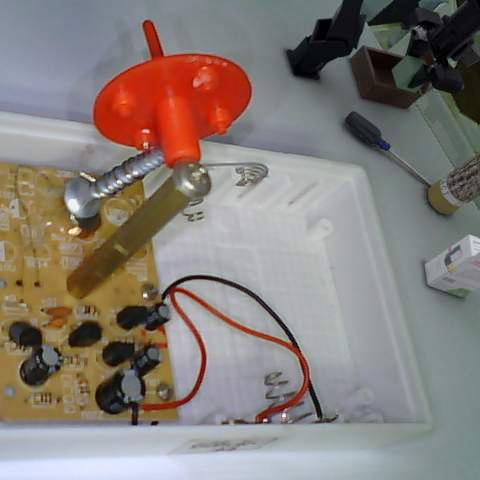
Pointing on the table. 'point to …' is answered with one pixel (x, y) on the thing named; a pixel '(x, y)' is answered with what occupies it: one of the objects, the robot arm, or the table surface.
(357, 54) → the chest
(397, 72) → the block
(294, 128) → the table surface
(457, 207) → the canister
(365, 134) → the screwdriver
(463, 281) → the ink box
